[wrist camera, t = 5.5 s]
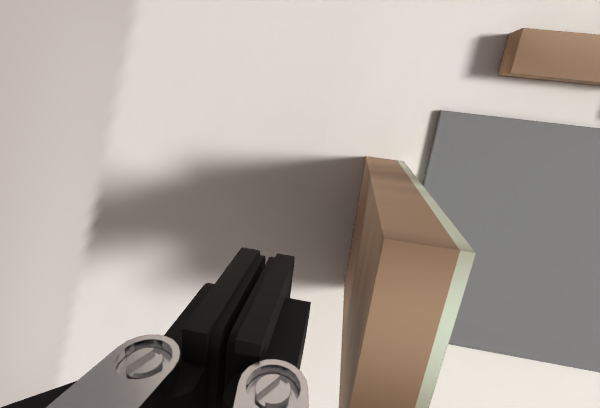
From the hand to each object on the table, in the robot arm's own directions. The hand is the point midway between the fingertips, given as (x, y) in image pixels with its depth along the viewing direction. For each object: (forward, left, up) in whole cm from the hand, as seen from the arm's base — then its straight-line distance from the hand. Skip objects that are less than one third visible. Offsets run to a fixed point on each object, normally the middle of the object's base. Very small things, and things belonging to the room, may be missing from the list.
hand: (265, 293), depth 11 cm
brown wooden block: (0, +4, -8) cm, 8 cm away
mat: (0, +11, -8) cm, 13 cm away
